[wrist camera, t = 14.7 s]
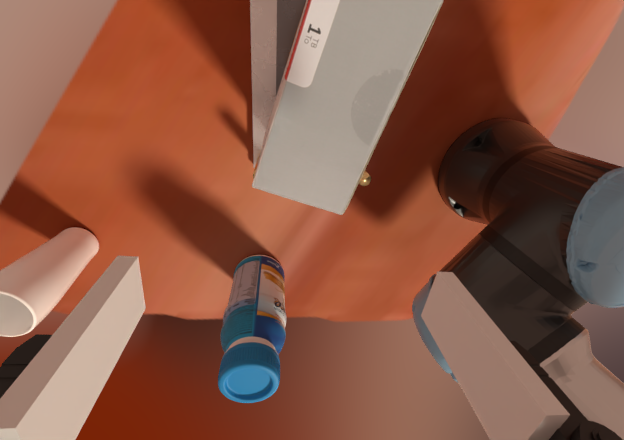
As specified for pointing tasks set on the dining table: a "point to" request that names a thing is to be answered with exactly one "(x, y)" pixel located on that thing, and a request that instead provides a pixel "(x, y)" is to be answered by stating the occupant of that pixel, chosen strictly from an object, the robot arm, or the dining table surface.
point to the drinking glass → (42, 279)
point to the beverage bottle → (253, 331)
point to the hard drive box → (339, 95)
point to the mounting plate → (272, 60)
